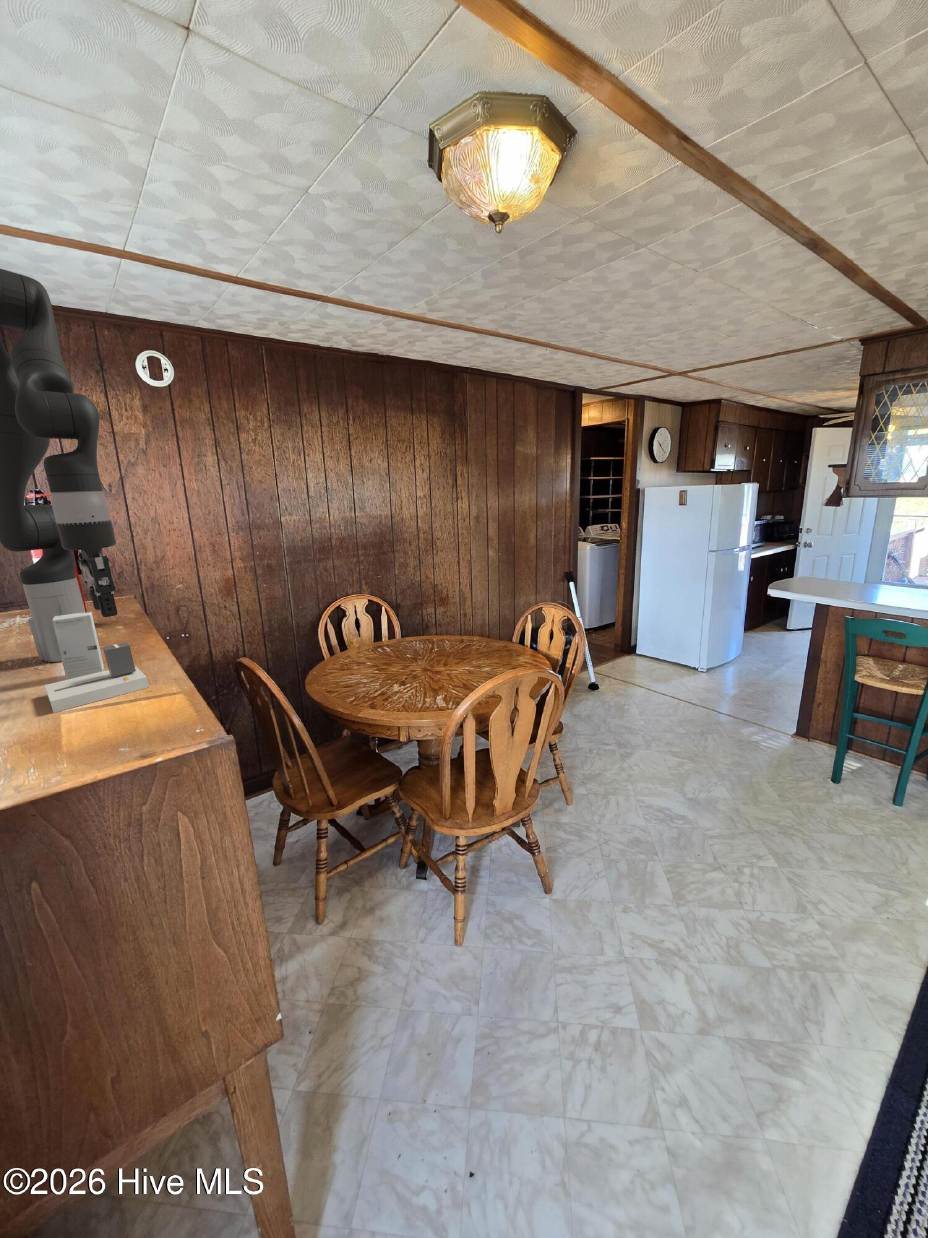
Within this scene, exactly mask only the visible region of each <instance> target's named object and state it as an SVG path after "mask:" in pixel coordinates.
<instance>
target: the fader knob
mask: <svg viewBox="0 0 928 1238" xmlns="http://www.w3.org/2000/svg"><path fill="white" fill-rule="evenodd" d="M102 649H103V653H104V657H105V661H106V664H107V670H109V673H110V674H111V676H112V677H115V676H119V675H123V674H127V673H131V672H135V671H136V670H135V666H136V665H135V663H134V662H135V661H134V657H133V654H132V650H131V646H130V644H129V643H128V642H122V643H116V644H112V645H109V646H103V647H102ZM134 665H135V666H134Z"/></svg>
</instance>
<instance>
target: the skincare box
mask: <svg viewBox="0 0 928 1238" xmlns="http://www.w3.org/2000/svg"><path fill="white" fill-rule="evenodd" d="M52 623H53V627H54V630H55V635H56V639H57V643H58V647H59V651H60V655H61V659H62V661H61V662H62V666H63V671H64V674H65V680H68V679H73V678H77V677H81V676H85V675H89V674H94V673H98V672H102V671H105V664H104V661H103V657H102V652H101V647H100V643H99V640H98V633H97V631H96V626H95V622H94V616H93V612H92V611H85V612H84V613H75V614H68V615H61V616H55V617H54V618H53V620H52Z"/></svg>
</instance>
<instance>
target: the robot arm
mask: <svg viewBox="0 0 928 1238" xmlns="http://www.w3.org/2000/svg"><path fill="white" fill-rule="evenodd" d="M54 315H55V314H54V310H53V305H52V301H51V299H50V296H49V294H48V291H47V290H46V288H45V286H44V285H43V284H42V283H41V282H40V281H39V280H37V279H35V278H32V277H30V276H27V275H24V274H21V273H17V272H14V271H10V270H6V269H4V268H0V327H3V328H8V329H13V330H17V331H21V332H25V333H24V334H22V335H21V336H19V338H18V339H17V340H16V341H15V342H14V344H13V346H11V347H12V348H11V351H10V355H9V353H8V351H7V350H6V347H5V345H4V343H3V340H2V339H1V337H0V544H1V545H2V547H3V548H4V549H6V550H7V551H10V552H28V551H39V550H42V555H41V557H39V559H38V560H37V561H35V562H34V563H32V564H31V565H29V566H27V567H25V568H23V569H21V570H20V572H19V577H20V581H21V584H22V587H23V590H24V594H25V595H24V596H25V598H26V601H27V604H28V608H29V611H30V615H31V617H29V618H28V624H29V627H30V628H29V629H30V631H31V635H32V638H33V642H34V645H35V648H36V652H37V655H38V659H39V661H45V662H47V661H48V663H49V662H51V663H53V662H54V663H55V662H62V659H61V655H60V651H59V647H58V643H57V639H56V635H55V630H54V627H53V623H52V620H53V618H54V617H55V616H61V615H68V614H75V613H84V612H86V609H85V605H84V601H83V598H82V593H81V590H80V585H79V581H78V579H77V575H76V560H75V556H74V551H79V552H78V558H79V559H78V560H77V561H78V567H79V568H80V570H81V574H82V579H83V581H84V583H85V585H86V588H87V589H88V590H89V592H90V596H91V601H92V605H93V608H94V610H96V611H100V614H101V616H102V617H103V618H111V617H115V616H117V615H118V614H119V613H118V608H117V604H116V599H115V595H114V594H115V592H116V586H115V583H114V582H115V581H114V577H113V574H112V570H111V562H110V559H109V557H108V556H107V555H104V553H103V551H102V550H103V549H104V548H110V547H114V546H116V544H117V540H116V536H115V531H114V527H113V523H112V519H111V513H110V509H109V505H108V501H107V500H106V497H105V494H104V491H103V490H104V489H103V486H102V482H101V478H100V474H99V473H100V472H99V468H98V467H99V466H98V455H97V454H98V453H97V452H98V439H99V432H100V431H99V430H100V419H101V418H100V413H99V410H98V407H97V406H96V405H95V403H94V402H93V401H92V400H91V399H90V398H89V397H88V396H86V395H85V394H80V393H76V392H75V390H74V389H75V388H74V384H73V382H72V379H71V376H70V374H69V372H68V370H67V367H66V363H65V362H64V360H63V356H62V353H61V348H60V340H59V336H58V335H59V334H58V330H57V325H56V320H55V319H56V318H55V316H54ZM74 392H75V393H74ZM52 439H54V440H55V439H56V440H77V446H76V448H75V449H73V450H71V451H69V452H68V451H67V452H62V453H56V454H53V455H51V454H50V455H49V456H48V455H47V456H46V457H45V455H46V454H47V451H48V449H49V447H50V442H51V440H52ZM44 457H45V458H44ZM43 458H44V459H43ZM42 460H43V469H44V472H45V475H46V480H47V484H48V488H49V493H50V500H51V504H25V497H26V489H27V486H28V482H29V480H30V478H31V477H32V475H33V473H34V472H35V471H36V469H37V467H38V466H39V465H40V463H41V462H42Z"/></svg>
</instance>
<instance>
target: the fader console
mask: <svg viewBox="0 0 928 1238" xmlns="http://www.w3.org/2000/svg"><path fill="white" fill-rule="evenodd" d="M134 666H135V670H136V671H135V672H131V673H127V674H123V675H119V676H115V677H112V676H111V674H110V673H109V669H107V670H103V671H102V672H98V673H94V674H89V675H85V676H81V677H77V678H73V679H68V680H67V679H65V680H61V681H57V682H52V683H49V684H44V687H45V692H46V694H47V699H48V701H49V704H50V707H51V709H52V713H53V714H54V713H58V712H62V711H65V710H70V709H74V708H77V707H78V708H79V707H80V706H85V705H88V704H91V703H96V702H100V701H102V700H106V699H107V700H108V699H111V698H115V697H119V696H121V695H124V694H128V693H133V692H137V691H140V690H144V689H148V688H150V685H149V682H148V681H149V680H148V676H146V675H145V674H144V673H143V671H141V669H140V668H138V666H137V665H136V664H134Z"/></svg>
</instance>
